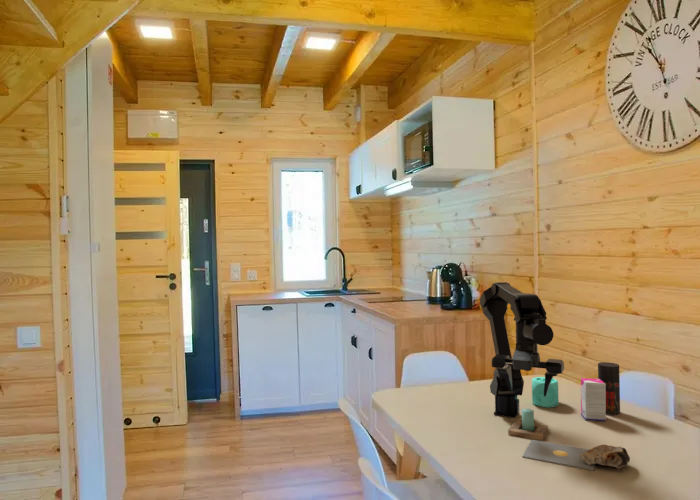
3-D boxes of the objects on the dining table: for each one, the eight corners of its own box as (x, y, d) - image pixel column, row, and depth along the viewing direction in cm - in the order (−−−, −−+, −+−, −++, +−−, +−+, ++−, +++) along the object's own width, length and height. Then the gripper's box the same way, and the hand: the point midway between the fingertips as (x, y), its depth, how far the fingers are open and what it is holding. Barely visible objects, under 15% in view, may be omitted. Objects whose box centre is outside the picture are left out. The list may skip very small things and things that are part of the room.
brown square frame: (508, 434, 138) (508, 430, 138) (515, 424, 146) (515, 420, 146) (542, 440, 133) (542, 435, 133) (547, 429, 141) (547, 425, 141)
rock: (629, 462, 119) (585, 443, 125) (635, 442, 117) (590, 424, 123) (622, 484, 113) (576, 463, 118) (627, 463, 111) (580, 443, 116)
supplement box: (606, 421, 146) (605, 383, 146) (585, 420, 148) (584, 382, 148) (600, 415, 152) (600, 378, 152) (580, 414, 153) (579, 377, 153)
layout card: (522, 457, 123) (522, 455, 123) (531, 440, 133) (531, 439, 133) (593, 470, 115) (593, 469, 115) (597, 451, 125) (597, 450, 125)
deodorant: (594, 409, 157) (594, 362, 157) (612, 408, 158) (611, 362, 158) (606, 415, 152) (605, 367, 152) (624, 414, 152) (623, 366, 152)
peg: (521, 432, 139) (520, 411, 139) (523, 429, 142) (523, 408, 142) (533, 434, 137) (532, 413, 137) (535, 430, 140) (534, 409, 140)
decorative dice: (532, 399, 170) (532, 376, 170) (557, 401, 167) (557, 377, 167) (532, 406, 162) (531, 382, 162) (558, 408, 159) (558, 384, 159)
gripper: (485, 341, 137) (487, 397, 137) (557, 346, 128) (559, 406, 128) (495, 335, 147) (497, 387, 147) (563, 339, 137) (564, 395, 137)
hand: (527, 394), depth 139 cm, fingers open, 9 cm apart
